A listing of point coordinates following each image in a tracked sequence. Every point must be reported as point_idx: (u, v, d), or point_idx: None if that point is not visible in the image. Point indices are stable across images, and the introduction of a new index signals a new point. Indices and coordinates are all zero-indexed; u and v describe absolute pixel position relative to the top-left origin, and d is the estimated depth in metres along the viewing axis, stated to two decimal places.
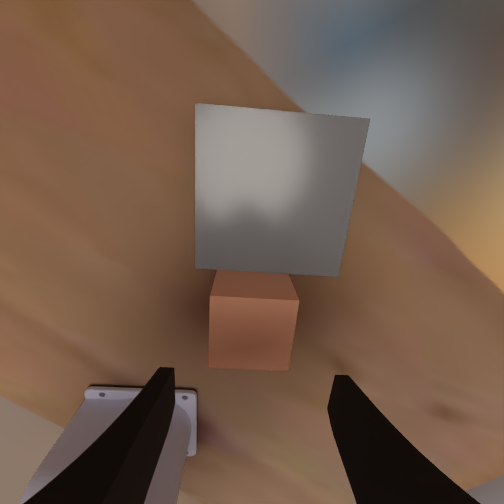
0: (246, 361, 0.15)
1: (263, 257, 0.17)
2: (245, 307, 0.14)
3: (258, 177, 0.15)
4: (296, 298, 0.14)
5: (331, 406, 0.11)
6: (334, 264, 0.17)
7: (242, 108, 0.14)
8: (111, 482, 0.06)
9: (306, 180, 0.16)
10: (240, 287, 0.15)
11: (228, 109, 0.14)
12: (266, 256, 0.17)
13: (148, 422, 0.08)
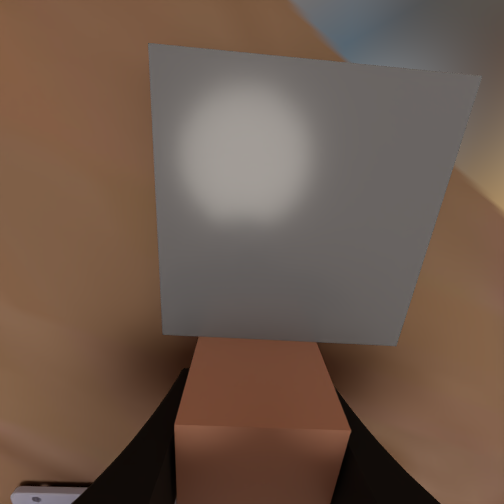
0: None
1: (276, 318, 0.10)
2: (245, 442, 0.07)
3: (269, 186, 0.09)
4: (343, 422, 0.07)
5: None
6: (392, 327, 0.11)
7: (240, 54, 0.07)
8: (154, 483, 0.06)
9: (354, 191, 0.09)
10: (236, 391, 0.08)
11: (212, 56, 0.07)
12: (280, 316, 0.10)
13: None
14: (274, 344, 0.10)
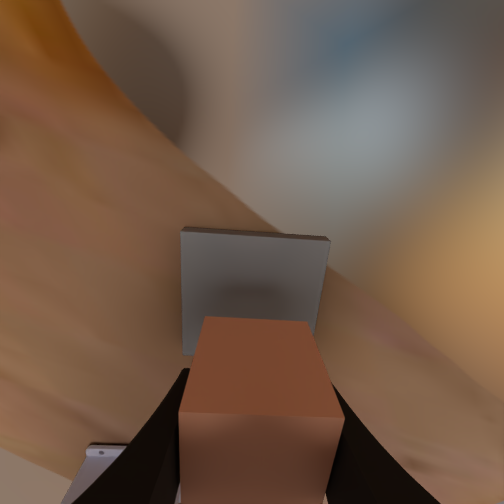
0: None
1: None
2: (245, 429, 0.08)
3: (236, 285, 0.18)
4: (338, 410, 0.08)
5: None
6: None
7: (220, 234, 0.17)
8: (154, 483, 0.06)
9: (277, 287, 0.18)
10: (237, 382, 0.09)
11: (208, 235, 0.17)
12: None
13: None
14: (273, 339, 0.11)
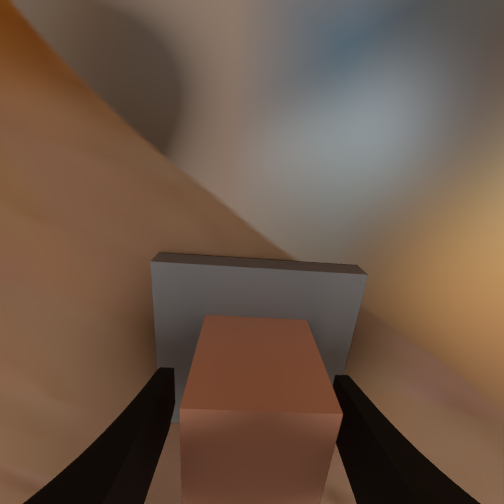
0: (247, 500, 0.09)
1: None
2: (245, 425, 0.08)
3: None
4: (336, 407, 0.08)
5: None
6: None
7: (209, 266, 0.11)
8: (111, 482, 0.06)
9: None
10: (237, 379, 0.09)
11: (191, 267, 0.11)
12: None
13: (148, 422, 0.08)
14: (272, 337, 0.11)
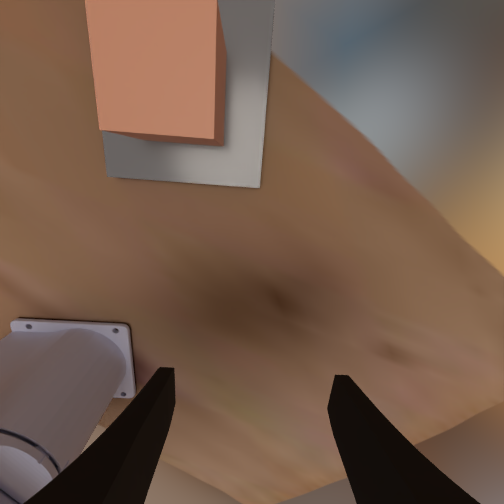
0: (152, 118, 0.11)
1: (178, 164, 0.16)
2: (138, 9, 0.10)
3: None
4: None
5: (331, 406, 0.11)
6: (254, 173, 0.17)
7: None
8: (111, 482, 0.06)
9: None
10: None
11: None
12: (181, 163, 0.16)
13: (148, 422, 0.08)
14: None
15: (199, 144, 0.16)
